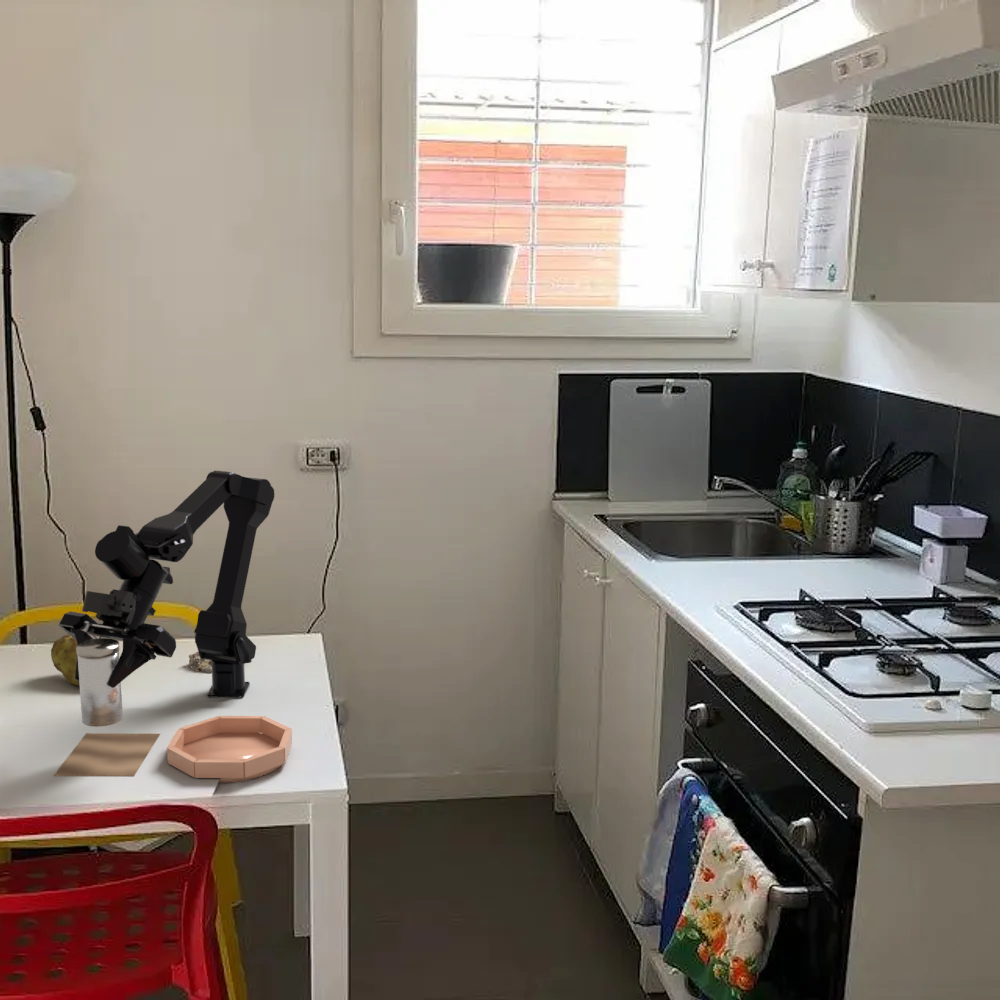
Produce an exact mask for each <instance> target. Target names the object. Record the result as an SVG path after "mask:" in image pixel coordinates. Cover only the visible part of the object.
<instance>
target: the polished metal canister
mask: <svg viewBox="0 0 1000 1000" xmlns="http://www.w3.org/2000/svg"><path fill="white" fill-rule="evenodd" d="M76 650H77V655H78V669H79V684H80V686H79V696H80V711H81V722H82V724H84V725H85V726H88V727H94V728H95V727H96V728H97V727H108V726H111V725H115V724H117V723H118V722H121V721H122V720H123V719H124V716H123V715H124V714H123V713H124V712H123V699H122V696H123V695H122V681H121V682H120V683H119V684H118V685H117V686H115V687H114V688H111V687H110V686H109V681H110V678H111V675H112V673H113V671H114V669H115V667H116V664H117V662H118V660H119V658H120V642H119V641H118V639H112V638H106V637H101V638H99V639H91V640H87V641H84V642H81V643H79V644H78V645H77V646H76Z"/></svg>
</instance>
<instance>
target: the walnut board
mask: <svg viewBox="0 0 1000 1000" xmlns="http://www.w3.org/2000/svg"><path fill="white" fill-rule="evenodd" d="M160 735H161V733H115V732H114V733H107V732H105V733H104V732H103V733H101V732H100V733H99V732H98V733H95V732H94V733H89V732H88V733H85V734H84V735H83V737H82V738H81V740H79V742H78V743H77V745H76V746H75V747H74V748H73V750H72V751H71V752H70V753H69V755H68V756H67V757H66V759H65V760H64V761H63V762H62V764H61V765H60V766H59V768H57V771H55V773H54V774H53V777H135V776H136V774H137V773H138V770H139V769H140V767H141V766H142V764H143V763H144V761H145V759H146V758H147V756H148V754H149V753H150V751H151V750H152V748H153V746H154V745H155V743H156V742H157V740H158V738H160Z"/></svg>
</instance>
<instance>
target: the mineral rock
mask: <svg viewBox="0 0 1000 1000" xmlns="http://www.w3.org/2000/svg"><path fill="white" fill-rule="evenodd" d="M188 663H189V666H190V667H191V669H192V670H193V671H197V672H202V673H203V672H204V673H205V672H207V673H206V674H209V673H212V663H211V660H208V659H201V658H200V655H199V652H198V651H196V652H194V653H193V654H191V653H190V654H188ZM208 672H209V673H208Z"/></svg>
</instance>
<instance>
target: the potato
mask: <svg viewBox="0 0 1000 1000" xmlns="http://www.w3.org/2000/svg"><path fill="white" fill-rule="evenodd" d="M77 645H78V644H77V640H75V639H74V638H73V637H72V636H71V635H69V634H65V635H63V636H62V637H60V638H57V639H56V640H55V641H54V643H53V645H52V647H51V649H50V651H51V652H50V657H51V661H52V663H53V667H54V668H56V670H57V671H59V672H60V673H61V674H62V675H63V678H64V679H65V681H67V682H68V683H70V684H71V685H75V686H78V687H80V684H79V681H77V680H76V679H75V672H76V663H77V650H76V646H77Z"/></svg>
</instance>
